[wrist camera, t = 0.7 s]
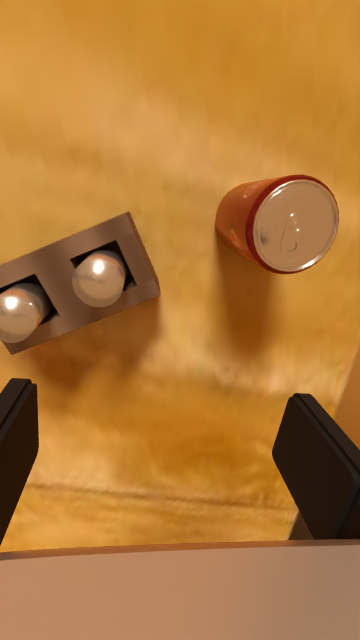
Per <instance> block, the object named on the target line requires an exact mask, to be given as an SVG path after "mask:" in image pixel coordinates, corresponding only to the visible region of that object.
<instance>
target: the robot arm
mask: <svg viewBox="0 0 360 640" xmlns="http://www.w3.org/2000/svg"><path fill="white" fill-rule="evenodd" d="M38 447H39V437H38V404H37V385H36V384H32V382H31V380H30V379H19V378H12V379H11V380H10V381H9V382H8V384H7V385H6V386H5V388H4V389H3V391H2V392H1V393H0V545H1V543H2V540H3V538H4V535H5V533H6V530H7V528H8V525H9V523H10V520H11V518H12V516H13V513H14V511H15V508H16V506H17V503H18V501H19V498H20V496H21V493H22V491H23V488H24V486H25V484H26V481H27V479H28V476H29V474H30V471H31V469H32V466H33V464H34V461H35V459H36V456H37V453H38ZM272 456H273V460H274V462H275V464H276V466H277V468H278V470H279V472H280V474H281V475H282V477H283V479H284V481H285V483H286V485H287V487H288V489H289V491H290V493H291V495H292V497H293V499H294V501H295V503H296V505H297V507H298V509H299V511H300V513H301V515H302V517H303V519H304V521H305V523H306V525H307V527H308V528H309V531H310V532H311V535H312V536H313V538H314V540H287V541H249V542H217V543H186V544H157V545H130V546H104V547H78V548H60V549H42V550H24V551H12V552H2V553H0V640H360V450H359V449H358V448H357V447H356V445H355V444H354V443H353V442H352V441H351V440H350V439H349V438H348V436H347V435H346V434H345V433H344V432H343V430H342V429H341V428H340V427H339V426H338V425H337V424H336V423H335V421H334V420H333V419H332V418H331V417H330V416H329V414H328V413H327V412H326V411H325V410H324V409H323V408H322V406H321V405H320V404H319V403H318V402H317V401H316V399H315V398H314V397H313V396H312V395H311V394H302V393H295V394H294V395H293V396H292V397H290V398H289V400H288V402H287V406H286V409H285V412H284V415H283V418H282V421H281V424H280V427H279V431H278V434H277V437H276V440H275V443H274V446H273V450H272Z"/></svg>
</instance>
